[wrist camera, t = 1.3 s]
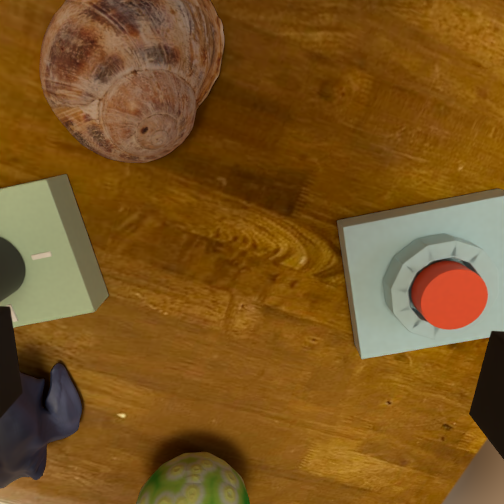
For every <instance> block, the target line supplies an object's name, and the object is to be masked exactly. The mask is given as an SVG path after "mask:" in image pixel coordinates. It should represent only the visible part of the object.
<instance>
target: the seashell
mask: <svg viewBox="0 0 504 504" xmlns="http://www.w3.org/2000/svg"><path fill="white" fill-rule="evenodd" d="M223 49H224V33H223V25H222V22H221V19H220V18H219V17H218V16H217V13H216V10H215V8H214V6H213V5H212V3H211V1H210V0H66V1H65V2H64V4H63V6H62V7H61V8H60V9H59V10H58V11H57V12H56V14H55V15H54V16H53V18H52V20H51V22H50V24H49V26H48V28H47V31H46V33H45V35H44V39H43V44H42V48H41V57H40V79H41V83H42V89H43V92H44V96H45V97H46V99H47V101H48V103H49V105H50V106H51V108H52V110H53V112H54V113H55V114H56V116H57V117H58V118H59V120H60V121H61V122H62V124H63V125H64V126H65V127H66V128H67V129H68V131H69V132H70V133H71V134H72V135H73V136H74V137H75V138H76V139H77V140H78V141H79V142H80V143H81V144H82V145H83V146H85V147H87V148H88V149H90V150H91V151H93V152H95V153H97V154H99V155H101V156H103V157H106V158H108V159H111V160H116V161H121V162H130V163H144V162H149V161H152V160H156V159H159V158H162V157H164V156H165V155H167V154H169V153H170V152H172V151H173V150H174V149H175V148H177V147H178V146H179V145H180V144H182V143H183V141H184V140H185V139H186V138H187V136H188V135H189V134H190V132H191V130H192V128H193V125H194V120H195V115H196V109H197V108H198V107H199V106H200V104H201V103H202V102H203V101H204V99H205V98H206V97H207V96H208V94H209V92H210V89H211V87H212V86H213V84H214V82H215V80H216V79H217V77H218V76H219V73H220V66H221V60H222V54H223Z"/></svg>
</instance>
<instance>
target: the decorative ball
mask: <svg viewBox="0 0 504 504" xmlns="http://www.w3.org/2000/svg"><path fill="white" fill-rule="evenodd" d="M136 504H250V502H249V497H248V494H247V490H246V487H245V484H244V482H243V479H242V477H241V476H240V475H239V474H238V473H237V472H236V471H235V470H234V469H233V468H232V467H231V466H230V465H229V464H227V463H226V462H225V461H224V460H222V459H220V458H218V457H216V456H214V455H212V454H211V453H208V452H196V453H184V454H181V455H179V456H177V457H175V458H173V459H171V460H169V461H167V462H166V463H164V464H162V465H161V466H160V467H159V468H158V469H157V470H156V471H155V472H154V474H153V475H152V476H151V477H150V478H149V479H148V481H147V482H146V483H145V484H144V486H143V487H142V488H141V491H140V494H139V497H138V500H137V502H136Z"/></svg>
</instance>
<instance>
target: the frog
mask: <svg viewBox="0 0 504 504" xmlns="http://www.w3.org/2000/svg"><path fill="white" fill-rule="evenodd" d="M20 378H21V385H22V392H23V393H22V394H21V395H20V396H19V398H18V399H17V400H16V401H15V402H14V403H13V404H12V406H11V407H10V408H9V409H8V410H7V411H6V412H5V414H4V415H3V416H2V417H1V418H0V488H4V487H6V486H7V485H8V484H10V483H11V482H13V481H15V480H17V479H19V478H21V477H31V478H33V479H34V480H37V479H39V478H40V477H41V476H43V472H44V470H45V466H46V455H47V444H48V443H50V442H52V441H56V440H60V439H63V438H66V437H68V436H70V435H72V434H74V433H75V432H76V431H77V430H78V428H79V420H80V417H81V413H82V404H81V400H80V397H79V395H78V392H77V390H76V388H75V386H74V384H73V383H72V381H71V379H70V377H69V375H68V372H67V370H66V369H65V367H64V366H63V365H62V364H60V363H57V364H56V365H55V366H53V368H52V370H51V372H50V388H49V391H48V394H47V396H46V399H45V403H44V404H45V408H43V396H42V394H43V390H44V384H45V380H44V379H43V378H42V379H36V378H34V377H32V376H29V375H26V374H23V373H21V372H20Z"/></svg>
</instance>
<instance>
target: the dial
mask: <svg viewBox="0 0 504 504" xmlns="http://www.w3.org/2000/svg"><path fill="white" fill-rule="evenodd" d="M24 277H25V265H24V262H23V259H22V257H21V255H20V253H19V252H18V250H17V249H16V248H15V247H14V246H13V245H12V244H11V243H9V242H8V241H7V240H5V239H3V238H1V237H0V302H1V301H2V300H4V299H5V298H7V297H8V296H10V295H11V294H13V293H14V292H15V291H17V290H18V289H19V288H20V286H21V285H22V283H23V281H24Z"/></svg>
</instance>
